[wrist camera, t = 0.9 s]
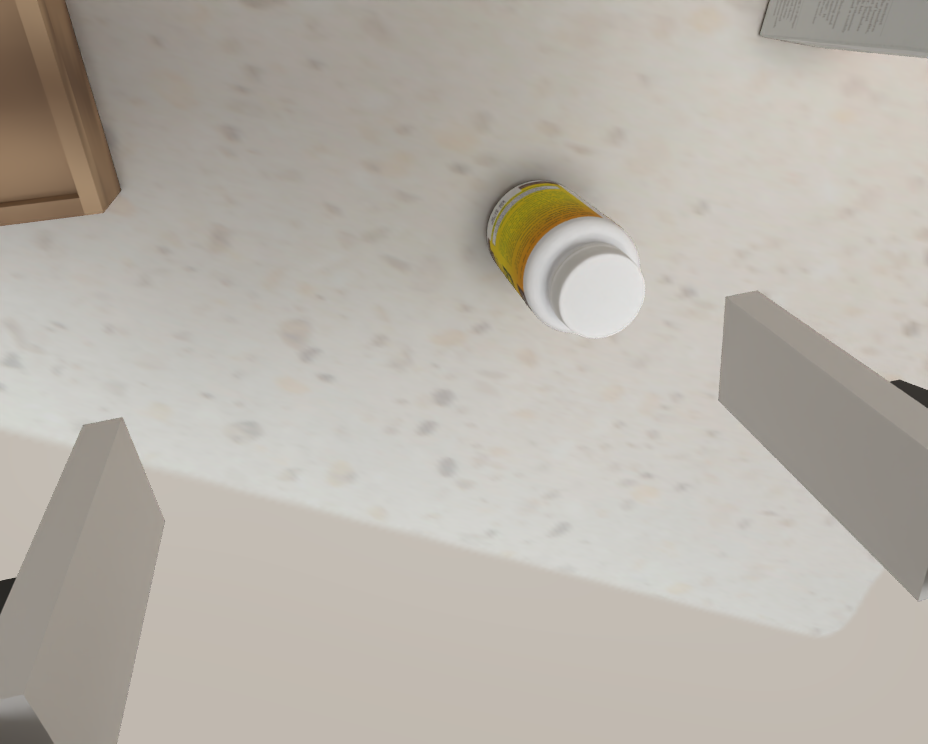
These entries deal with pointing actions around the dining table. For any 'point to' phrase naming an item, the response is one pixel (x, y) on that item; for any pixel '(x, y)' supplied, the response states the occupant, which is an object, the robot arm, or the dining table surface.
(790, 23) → the skincare box
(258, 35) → the dining table surface
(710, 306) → the dining table surface
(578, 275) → the supplement bottle
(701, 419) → the dining table surface
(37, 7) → the wooden tray
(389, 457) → the dining table surface
